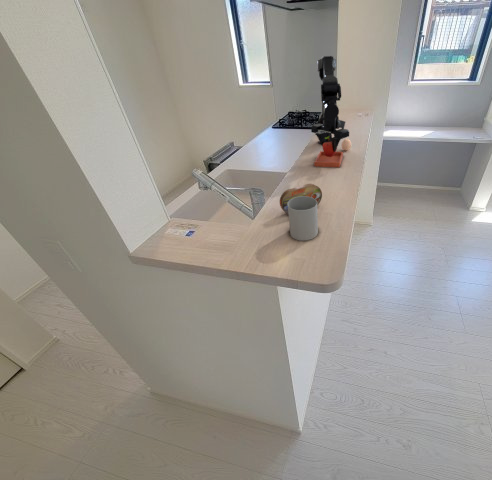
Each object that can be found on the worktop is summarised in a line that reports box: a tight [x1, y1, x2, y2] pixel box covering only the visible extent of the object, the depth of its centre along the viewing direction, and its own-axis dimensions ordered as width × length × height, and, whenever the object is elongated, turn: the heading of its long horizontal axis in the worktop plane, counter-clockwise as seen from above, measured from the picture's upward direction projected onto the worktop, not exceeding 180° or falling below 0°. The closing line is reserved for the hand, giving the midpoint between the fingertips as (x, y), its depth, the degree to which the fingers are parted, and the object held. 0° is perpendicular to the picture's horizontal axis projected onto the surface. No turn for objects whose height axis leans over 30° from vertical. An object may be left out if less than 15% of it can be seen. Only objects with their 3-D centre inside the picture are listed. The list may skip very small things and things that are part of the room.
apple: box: [322, 136, 338, 157], centre depth 124 cm, size 8×7×10 cm
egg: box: [341, 138, 352, 152], centre depth 138 cm, size 5×5×6 cm
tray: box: [313, 150, 344, 168], centre depth 128 cm, size 15×12×2 cm
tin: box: [279, 183, 323, 215], centre depth 89 cm, size 15×3×8 cm, turn 117°
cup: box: [287, 196, 319, 242], centre depth 78 cm, size 8×8×10 cm
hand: (329, 150), depth 125 cm, fingers closed on apple, 6 cm apart
